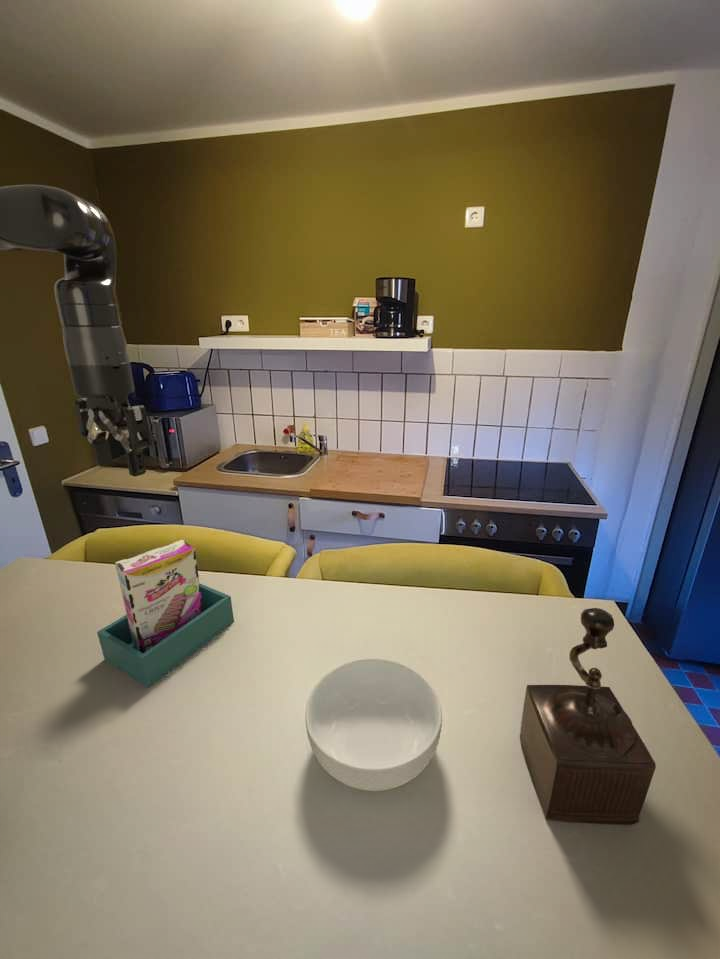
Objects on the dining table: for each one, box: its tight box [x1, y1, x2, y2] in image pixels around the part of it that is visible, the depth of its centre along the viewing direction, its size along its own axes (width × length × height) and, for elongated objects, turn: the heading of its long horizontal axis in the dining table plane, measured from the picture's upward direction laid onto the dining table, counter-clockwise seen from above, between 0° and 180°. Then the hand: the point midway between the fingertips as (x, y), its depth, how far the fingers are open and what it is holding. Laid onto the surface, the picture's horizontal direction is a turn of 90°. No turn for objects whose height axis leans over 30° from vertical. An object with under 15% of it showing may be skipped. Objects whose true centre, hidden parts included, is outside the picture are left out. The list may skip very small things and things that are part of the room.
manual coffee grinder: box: [519, 607, 657, 826], centre depth 51 cm, size 16×11×18 cm
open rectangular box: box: [96, 583, 235, 688], centre depth 74 cm, size 12×18×6 cm, turn 150°
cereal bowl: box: [304, 657, 443, 792], centre depth 55 cm, size 17×17×7 cm
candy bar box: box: [114, 539, 204, 653], centre depth 72 cm, size 11×5×16 cm, turn 135°
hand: (121, 469), depth 65 cm, fingers open, 8 cm apart
